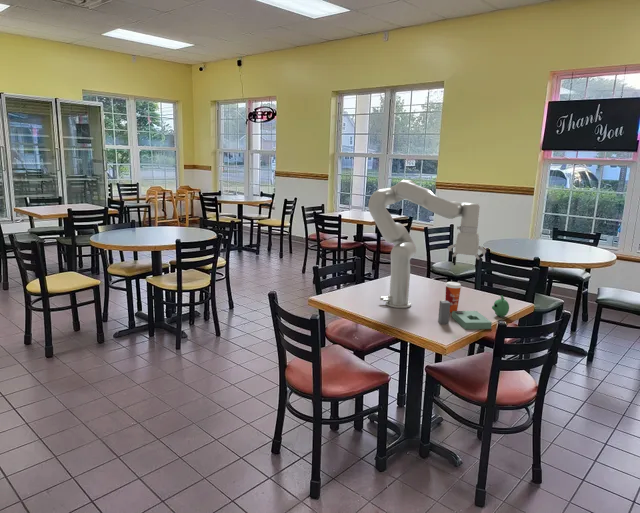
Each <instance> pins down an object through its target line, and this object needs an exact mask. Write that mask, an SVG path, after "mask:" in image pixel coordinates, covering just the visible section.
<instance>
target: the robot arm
mask: <svg viewBox="0 0 640 513" xmlns="http://www.w3.org/2000/svg"><path fill="white" fill-rule="evenodd" d="M403 200H407V201H408V202H411V203H413V204H415V205H418V206H420V207H422V208H423V209H426V210H428V211H429V212H432V213H433V214H436V215H438V216H441V217H443V218H445V219H447V220H448V219H449V220H453V219H456V218H460V226H457V227H456V228H457V230H458V233H457V236H456V240H455V241H456V242H455V243H454V244H451V245H449V246H447V250H448V253H449V254H450V255H451V256H452V261H451V262H452V264H453V266H456V262H457V255H464V256H465V255H466V256H467V255H468V256H475V261H474V262H475V263H474V268H476V269H477V267H479V264H480V263H479V262H480V259H481V258H482V257H483V258H484V256H485V255H486V253H487V250H486V249H485V248H483V247H482V246H481V245H479V243H480V238H479V237H480V235H479V233H478V226H479V217H480V207H481V206H480V205H479V203H475V202H463V201H462V202H461V201H457V200H453V201H449V200H446V199H444V198H441V197H439V196H438V195H436V194H434V192H433V191H432V190H431V189H428V188H426V187H423V186H420V185H419V184H416V183H415V181H413V180H411V179H402V180H400V181H398V182H397V183H396V184H395V185H392V186H390V187H387V188H380V189H377V190H375V191H374V192H373V193H372V194H371V195H370V198H369V200H368V205H367V206H368V211H369V213H370V216H371V218H372V219H373V221H374V222H375V225H376V227H377V229H378V230H379V232H380V234H381V236H382V238H383V240H384V241H385V242H386V243H388V244H393V245H394V246H393V247H392V249H391V251H390V278H389V279H390V281H389V282H390V283H389V294H387V295H385V296H379V301H383V302H385V304H386V305H387V307H391V308H395V309H406V308H410V307H411V306H412V303H411V301H409V297H410V296H409V294H410V293H409V292H410V278H411V259H412V258H414V257H415V256H416V253H417V247H416V244H415V242H414V241H413V239H412V237H411V234H410V233H409V232H408V230H407V228H406V227H405V226H404V225H403V224H402V223H401V222H395V220H394V218H393V217H392V214H391V213H390V212H389V211H388V209H387V207H386V206H390V205H394V204H396V203H399V202H400V201H403ZM453 248H454V251H453V250H452V249H453ZM479 251H481V253H480V254H479V253H478V252H479Z"/></svg>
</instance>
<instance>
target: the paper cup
mask: <svg viewBox="0 0 640 513" xmlns="http://www.w3.org/2000/svg"><path fill="white" fill-rule="evenodd" d="M461 289H462V285H461V283H460V282H457V281H447V282H445V299H444V300H445V301H449V302H450V313H451V314H452V311H458V308H459V301H460V296H461V295H460V294H461ZM450 313H449V314H450Z"/></svg>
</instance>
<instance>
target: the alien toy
mask: <svg viewBox="0 0 640 513" xmlns="http://www.w3.org/2000/svg"><path fill="white" fill-rule="evenodd" d="M491 309H492V310H493V311H494V314H495V315H496V316H497V317H500V318H503V317H505V316H507V315H508V313H509V311H510V304H509V302H508V300H506V299H505V297H504V295H500V298H499V299H496V300H495V301H494V303H493V305H492V306H491Z"/></svg>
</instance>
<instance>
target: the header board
mask: <svg viewBox="0 0 640 513" xmlns="http://www.w3.org/2000/svg"><path fill="white" fill-rule="evenodd" d="M451 318H452V319H453V320H455V322H457V323H458V324H459V325H460V326H461V327H462V328H463V329H464V330H491V329H492V326H493V324H492V323H493V322H492V321H491V320H489V319H488V318H487V317H486V316H484V315H483V314H482V313H481V312H479V311H478V310H457V311H452V313H451Z"/></svg>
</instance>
